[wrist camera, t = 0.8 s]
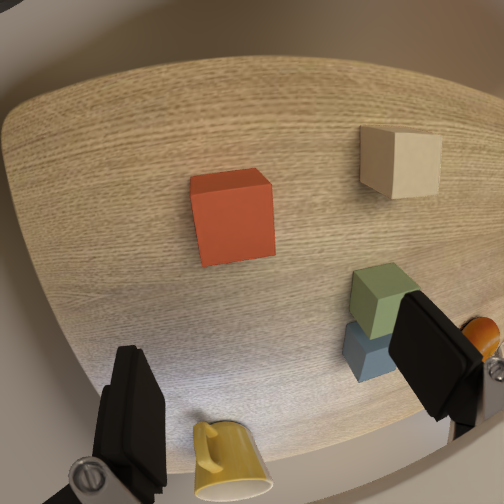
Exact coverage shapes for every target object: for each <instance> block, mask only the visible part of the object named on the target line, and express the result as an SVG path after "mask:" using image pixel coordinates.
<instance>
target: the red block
mask: <svg viewBox="0 0 504 504" xmlns="http://www.w3.org/2000/svg"><path fill="white" fill-rule="evenodd" d="M190 199H191V205H192V211H193V217H194V223H195V229H196V235H197V241H198V246H199V252H200V258H201V263H202V267H206V266H212V265H218V264H225V263H231V262H237V261H243V260H249V259H256V258H262V257H268V256H274V255H276V249H275V230H274V212H273V195H272V184H271V183H270V182H269V181H268V180H267V179H266V178H265V177H264V176H263V175H262V174H261V173H260V172H259V171H258V170H257V169H256V168H251V169H242V170H235V171H227V172H220V173H213V174H206V175H199V176H193V177H191V180H190Z"/></svg>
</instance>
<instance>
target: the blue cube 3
mask: <svg viewBox="0 0 504 504" xmlns="http://www.w3.org/2000/svg"><path fill="white" fill-rule="evenodd" d="M391 337H392V333H390V334H387V335H384V336H381V337H378V338H375V339H371V340H369V338H368V337H367V335H366V334H365V332H364V331H363V329H362V328H361V326H360V325H359V324H358V322H357V321H356V322H353V323H349V324H347V328H346V334H345V340H344V346H343V352H342V354H343V356H344V358H345V359H346V361H347V363H348V365H349V367H350V368H351V370H352V372H353V374H354V376H355V377H356V379H357V381H358V383H360V382H363V381H366V380H369V379H372V378H375V377H378V376H381V375H383V374H386V373H389V372H391V371H394V370H395V369H396V365H395V363H394V362H393V360H392V359H391V357H390V356H389V353H388V347H389V344H390V340H391Z"/></svg>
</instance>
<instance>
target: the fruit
mask: <svg viewBox="0 0 504 504" xmlns="http://www.w3.org/2000/svg"><path fill="white" fill-rule="evenodd" d="M462 333H463V334H464V335H465V336H466V337H467V338H468V340H469V341H470V342H471V343H472V344H473V345H474V346H475V347H476V348H477V349H478V351H479V352H480V353H481V354H482V355H483V356H484V357H483V359H482V361H483V362H485V361H486V359H488V358H489V357H490V356H491V355H492V354H493V353H494V351H495V350H496V348H497V346H498V344H499V340H500V332H499V329H498V326H497V325H496V323H495V322H494V321H493V320H491V319H490V318H487V317H480V318H476V319H474V320H472V321H471V322H469V323H468V325H466V327H465V328H464V329H463V330H462Z"/></svg>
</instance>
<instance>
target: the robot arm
mask: <svg viewBox="0 0 504 504" xmlns="http://www.w3.org/2000/svg"><path fill="white" fill-rule="evenodd" d="M388 353H389V356H390V357H391V359H392V360H393V362H394V363H395V365H396V366H397V367H398V369H399V370H400V372H401V373H402V375H403V376H404V378H405V379H406V381H407V382H408V384H409V385H410V387H411V388H412V390H413V391H414V393H415V394H416V396H417V397H418V399H419V400H420V402H421V403H422V405H423V406H424V408H425V410H427V412H428V414H429V415H430V416H431V417H434V418H435V420H436V422H438V421H439V420H441V419H443V418H445V417H447V416H448V415H449V417H450V418H451V422H450V430H449V436H448V443H447V445H446V446H444V447H442V448H440V449H439V450H437V451H435V452H433V453H431V454H429V455H428V456H426V457H424V458H422V459H420V460H418V461H416V462H414V463H412V464H410V465H408V466H406V467H404V468H402V469H400V470H398V471H395V472H393V473H391V474H389V475H387V476H384V477H382V478H380V479H377V480H375V481H372V482H370V483H367V484H365V485H363V486H360V487H357V488H354V489H351V490H348V491H346V492H343V493H340V494H337V495H333V496H330V497H327V498H324V499H321V500H317V501H314V502H310V503H307V504H504V358H502V357H499V356H492V357H489V358H488V359H486V361H485V363H484V362H483V361H482V359H483V357H484V356H483V355H482V354H481V353H480V352H479V351H478V349H477V348H476V347H475V346H474V345H473V344H472V343H471V342H470V341H469V340H468V338H467V337H466V336H465V335H464V334H463V333H462V332H461V331H460V330H459V329H458V328H457V327H456V326H455V325H454V324H453V323H452V321H451V320H450V319H449V318H448V317H447V316H446V315H445V314H444V313H443V312H442V311H441V310H440V309H439V308H438V307H437V306H436V305H435V304H434V303H433V302H432V301H431V300H430V299H429V298H428V297H427V296H426V295H425V294H424V293H423V292H422V291H420V290H415V291H411V292H408V293H405V295H404V297H403V298H402V299H401V301H400V306H399V310H398V314H397V318H396V322H395V326H394V329H393V333H392V337H391V340H390V344H389V347H388ZM68 477H69V484H68V485H66V486H65V487H64V488H62V489H61V490H60V491H59V492H57V493H56V494H55V495H53V496H52V497H51V498H49V499H48V500H47V501H45V502H44V503H42V504H153V503H154V502H155V501H154V494H162V493H163V492H162V491H163V490H162V487H166V485H167V471H166V437H165V399H164V396H163V393H162V391H161V389H160V387H159V385H158V383H157V381H156V379H155V377H154V375H153V373H152V370H151V368H150V366H149V364H148V362H147V359H146V357H145V355H144V353H143V351H142V349H137V347H136V346H135V345H129V346H119V347H118V349H117V353H116V358H115V363H114V368H113V373H112V378H111V383H110V385H105V386H104V388H103V391H102V395H101V400H100V406H99V412H98V418H97V424H96V431H95V438H94V445H93V454H92V457H90V456H88V457H82V458H80V459H78V460H77V461H76V462H74V463H73V464H72V466H71V468H70V470H69V474H68Z"/></svg>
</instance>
